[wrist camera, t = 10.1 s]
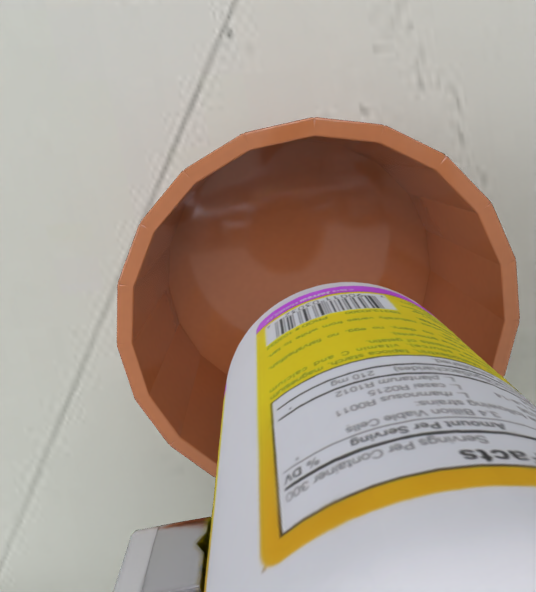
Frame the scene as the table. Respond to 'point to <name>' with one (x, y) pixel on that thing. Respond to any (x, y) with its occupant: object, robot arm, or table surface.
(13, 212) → the table surface
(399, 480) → the supplement bottle
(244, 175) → the terracotta round pot
